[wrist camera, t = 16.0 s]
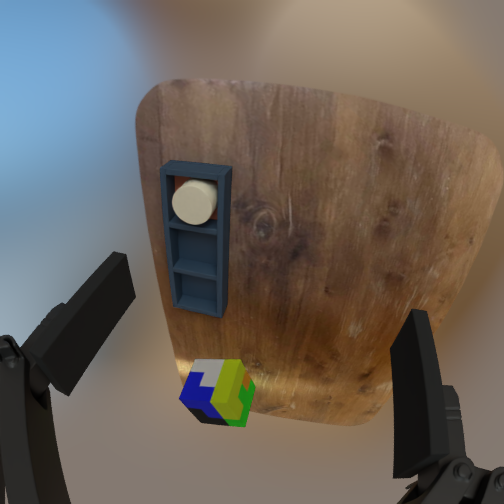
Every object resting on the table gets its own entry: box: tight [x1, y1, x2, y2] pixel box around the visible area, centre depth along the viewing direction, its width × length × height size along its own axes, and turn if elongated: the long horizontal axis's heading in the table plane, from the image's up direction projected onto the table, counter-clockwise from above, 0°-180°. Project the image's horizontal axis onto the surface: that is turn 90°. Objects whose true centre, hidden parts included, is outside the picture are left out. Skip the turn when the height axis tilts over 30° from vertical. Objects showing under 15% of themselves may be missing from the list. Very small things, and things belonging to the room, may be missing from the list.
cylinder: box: [172, 177, 218, 225], centre depth 37 cm, size 5×5×4 cm
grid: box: [160, 160, 232, 318], centre depth 42 cm, size 8×23×3 cm, turn 176°
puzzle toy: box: [179, 359, 255, 427], centre depth 57 cm, size 10×10×10 cm
